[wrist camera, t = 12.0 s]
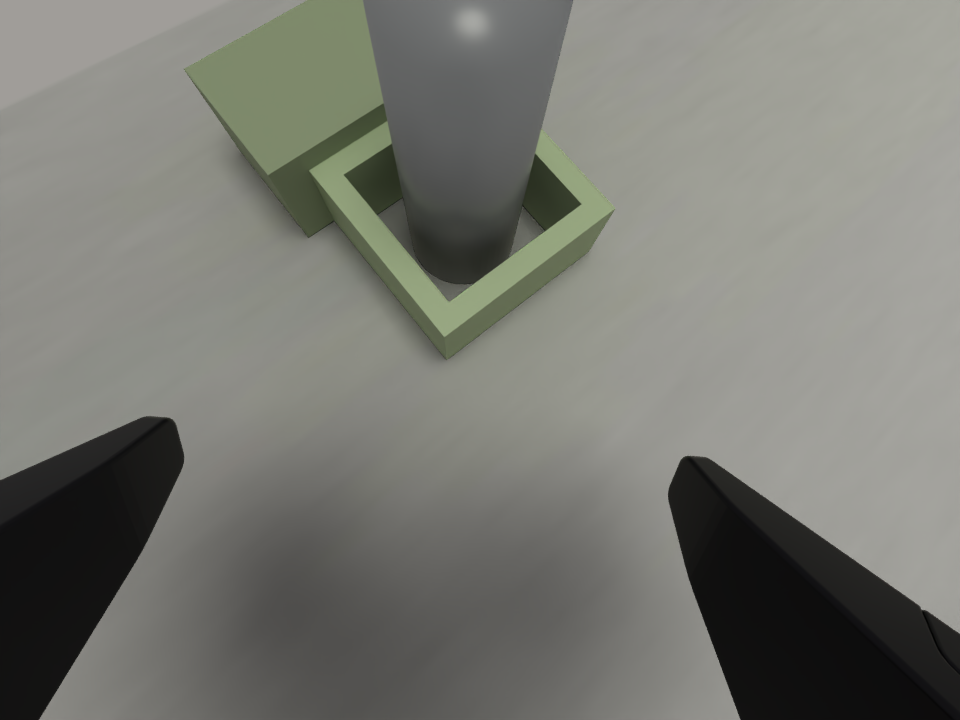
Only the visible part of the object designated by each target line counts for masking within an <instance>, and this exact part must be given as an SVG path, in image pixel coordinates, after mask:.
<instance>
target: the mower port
mask: <svg viewBox="0 0 960 720" xmlns="http://www.w3.org/2000/svg"><path fill="white" fill-rule="evenodd" d="M184 70H185V72H186V73H187V74H188V76H189V77H190V79H191V80H192V82H193V83H194V85H195V86H196V87H197V89H198V90H199V92H200V93H201V95H202V96H203V98H204V99H205V101H206V102H207V103H208V105H209V106H210V108H211V109H212V111H213V112H214V114H215V115H216V116H217V118H218V119H219V121H220V122H221V124H222V125H223V127H224V128H225V129H226V131H227V132H228V134H229V135H230V137H231V138H232V140H233V141H234V143H235V144H236V145H237V147H238V148H239V150H240V151H241V152H242V154H243V155H244V156H245V158H246V159H247V160H248V161H249V163H250V164H251V165H252V166H253V168H254V169H255V170H256V171H257V173H258V174H259V175H260V177H261V178H262V179H263V180H264V182H265V183H266V184H267V185H268V187H269V188H270V189H271V190H272V192H273V193H274V194H275V196H276V197H277V198H278V199H279V201H280V202H281V203H282V204H283V206H284V207H285V208H286V209H287V211H288V212H289V213H290V215H291V216H292V217H293V218H294V220H295V221H296V222H297V223H298V225H299V226H300V227H301V228H302V230H303V231H304V232H305V234H306V235H307V236H308V237H310V236H312V235H313V234H315V233H316V232H318V231H319V230H321V229H322V228H324V227H325V226H327V225H328V224H330V223H331V222H333V221H335V222H336V223H337V225H338V226H339V227H340V228H341V230H342V231H343V232H344V233H345V235H346V236H347V237H348V238H349V240H350V241H351V242H352V243H353V245H354V246H355V247H356V248H357V249H358V251H359V252H360V253H361V254H362V256H363V257H364V258H365V259H366V261H367V262H368V263H369V264H370V266H371V267H372V268H373V269H374V271H375V272H376V273H377V274H378V276H379V277H380V278H381V279H382V281H383V282H384V283H385V284H386V285H387V287H388V288H389V289H390V290H391V292H392V293H393V294H394V295H395V297H396V298H397V299H398V300H399V302H400V303H401V304H402V305H403V307H404V308H405V309H406V310H407V312H408V313H409V314H410V315H411V317H412V318H413V319H414V320H415V321H416V323H417V324H418V325H419V326H420V328H421V329H422V330H423V331H424V333H425V334H426V335H427V336H428V338H429V339H430V340H431V341H432V343H433V344H434V345H435V346H436V348H437V349H438V350H439V351H440V353H441V354H442V355H443V356H444V357H445V359H446V360H448V359H449V358H450V357H451V356H453V355H454V354H455V353H457V352H458V351H459V350H461V349H462V348H463V347H465V346H466V345H467V344H468V343H470V342H471V341H472V340H474V339H475V338H476V337H478V336H479V335H480V334H482V333H483V332H484V331H485V330H487V329H488V328H489V327H491V326H492V325H493V324H495V323H496V322H497V321H499V320H500V319H501V318H502V317H504V316H505V315H506V314H508V313H509V312H510V311H512V310H513V309H514V308H516V307H517V306H518V305H519V304H521V303H522V302H523V301H525V300H526V299H527V298H529V297H530V296H531V295H533V294H534V293H535V292H536V291H538V290H539V289H540V288H542V287H543V286H544V285H546V284H547V283H548V282H550V281H551V280H552V279H553V278H555V277H556V276H557V275H559V274H560V273H561V272H563V271H564V270H565V269H566V268H568V267H569V266H570V265H572V264H573V263H574V262H576V261H577V260H578V259H580V258H581V257H582V256H583V255H585V254H586V253H587V252H589V250H590V249H591V247H592V246H593V244H594V242H595V241H596V239H597V237H598V236H599V234H600V233H601V231H602V229H603V228H604V226H605V224H606V223H607V221H608V220H609V218H610V216H611V215H612V213H613V212H614V210H615V207H614V206H613V205H612V204H611V203H610V202H609V201H608V200H607V199H606V198H605V197H604V195H603V194H602V193H601V192H600V191H599V190H598V189H597V188H596V187H595V186H594V185H593V184H592V183H591V182H590V180H589V179H588V178H587V177H586V176H585V175H584V174H583V173H582V172H581V171H580V170H579V169H578V168H577V166H576V165H575V164H574V163H573V162H572V161H571V160H570V159H569V158H568V157H567V156H566V155H565V154H564V152H563V151H562V150H561V149H560V148H559V147H558V146H557V145H556V144H555V143H554V142H553V141H552V140H551V138H550V137H549V136H548V135H547V134H546V133H545V132H544V131H543V130H542V129H541V132H540V136H539V140H538V144H537V148H536V152H535V156H534V160H533V164H532V168H531V172H530V176H529V180H528V184H527V188H526V192H525V196H524V200H523V204H522V205H523V206H524V207H525V208H526V209H527V211H528V212H529V213H530V214H531V215H532V216H533V217H534V218H535V220H536V221H537V222H538V223H539V224H540V225H541V226H542V227H543V228H544V230H545V232H544V233H542V234H541V235H539V236H538V237H537V238H535V239H534V240H533V241H531V242H530V243H529V244H527V245H526V246H525V247H523V248H522V249H521V250H519V251H518V252H516V253H515V254H514V255H512V256H511V257H510V258H508V259H507V260H506V261H504V262H503V263H502V264H500V265H499V266H497V267H496V268H495V269H493V270H492V271H491V272H489V273H488V274H487V275H485V276H484V277H483V278H481V279H480V280H479V281H477V282H476V283H474V284H473V285H472V286H470V287H469V288H468V289H466V290H465V291H464V292H462V293H461V294H460V295H458V296H457V297H456V298H454V299H453V300H451V301H450V302H448V301H447V300H446V298H445V297H444V296H443V295H442V293H441V292H440V291H439V290H438V289H437V287H436V286H435V285H434V284H433V283H432V281H431V280H430V279H429V278H428V277H427V275H426V274H425V273H424V272H423V270H422V269H421V268H420V267H419V266H418V264H417V263H416V262H415V261H414V260H413V258H412V257H411V256H410V255H409V253H408V252H407V251H406V250H405V249H404V247H403V246H402V245H401V244H400V243H399V241H398V240H397V239H396V238H395V237H394V235H393V234H392V233H391V232H390V230H389V229H388V228H387V227H386V226H385V224H384V223H383V222H382V221H381V220H380V218H379V217H378V216H377V214H378V213H380V212H381V211H383V210H384V209H386V208H387V207H389V206H390V205H392V204H393V203H395V202H396V201H398V200H399V199H401V198H402V197H403V195H402V190H401V185H400V180H399V176H398V171H397V166H396V161H395V156H394V151H393V146H392V141H391V136H390V131H389V127H388V122H387V117H386V112H385V107H384V102H383V97H382V92H381V87H380V82H379V78H378V73H377V68H376V63H375V58H374V53H373V48H372V43H371V38H370V33H369V28H368V24H367V19H366V14H365V9H364V4H363V0H307V1H305V2H304V3H302V4H300V5H298V6H296V7H295V8H293V9H291V10H289V11H287V12H286V13H284V14H282V15H280V16H278V17H277V18H275V19H273V20H271V21H269V22H268V23H266V24H264V25H262V26H260V27H259V28H257V29H255V30H253V31H251V32H250V33H248V34H246V35H244V36H242V37H241V38H239V39H237V40H235V41H234V42H232V43H230V44H228V45H226V46H225V47H223V48H221V49H219V50H217V51H216V52H214V53H212V54H210V55H208V56H207V57H205V58H203V59H201V60H199V61H198V62H196V63H194V64H192V65H190V66H189V67H187V68H185V69H184Z"/></svg>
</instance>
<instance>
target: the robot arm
mask: <svg viewBox="0 0 960 720" xmlns="http://www.w3.org/2000/svg"><path fill="white" fill-rule="evenodd" d="M183 464H184V452H183V449H182V445H181V441H180V437H179V434H178V430H177V426H176V423H175V422H174V421H173V420H172V419H170V418H167V417H154V416H146V417H142V418H140V419H137V420H135V421H133V422H131V423H128V424H126V425H124V426H122V427H119V428H117V429H115V430H113V431H110V432H108V433H106V434H104V435H101V436H99V437H97V438H95V439H92V440H90V441H88V442H86V443H83V444H81V445H79V446H77V447H74V448H72V449H70V450H68V451H65V452H63V453H61V454H59V455H56V456H54V457H52V458H49V459H47V460H45V461H43V462H40V463H38V464H36V465H34V466H31V467H29V468H27V469H25V470H22V471H20V472H18V473H16V474H13V475H11V476H9V477H7V478H4V479H2V480H0V720H39V719H40V717H41V716H42V714H43V712H44V711H45V709H46V707H47V706H48V704H49V702H50V701H51V699H52V698H53V696H54V694H55V693H56V691H57V689H58V688H59V686H60V685H61V683H62V681H63V680H64V678H65V676H66V675H67V673H68V672H69V670H70V668H71V667H72V665H73V663H74V662H75V660H76V658H77V657H78V655H79V654H80V652H81V650H82V649H83V647H84V645H85V644H86V642H87V641H88V639H89V637H90V636H91V634H92V632H93V631H94V629H95V628H96V626H97V624H98V623H99V621H100V619H101V618H102V616H103V614H104V613H105V611H106V610H107V608H108V606H109V605H110V603H111V601H112V600H113V598H114V597H115V595H116V593H117V592H118V590H119V588H120V587H121V585H122V584H123V582H124V580H125V579H126V577H127V575H128V574H129V572H130V570H131V569H132V567H133V566H134V564H135V562H136V561H137V559H138V557H139V555H140V554H141V552H142V550H143V548H144V546H145V544H146V543H147V541H148V539H149V537H150V535H151V533H152V531H153V528H154V526H155V524H156V522H157V520H158V518H159V516H160V514H161V512H162V510H163V508H164V505H165V503H166V501H167V499H168V497H169V495H170V493H171V491H172V489H173V487H174V485H175V482H176V480H177V478H178V476H179V474H180V472H181V470H182V467H183ZM668 500H669V505H670V508H671V512H672V516H673V520H674V524H675V528H676V532H677V536H678V540H679V544H680V548H681V551H682V555H683V559H684V563H685V567H686V570H687V574H688V577H689V581H690V583H691V586H692V589H693V592H694V595H695V598H696V600H697V603H698V606H699V609H700V611H701V614H702V617H703V619H704V622H705V625H706V627H707V630H708V633H709V636H710V638H711V641H712V644H713V646H714V649H715V652H716V655H717V657H718V660H719V663H720V665H721V668H722V671H723V673H724V676H725V679H726V682H727V684H728V687H729V690H730V692H731V695H732V698H733V701H734V703H735V706H736V709H737V711H738V714H739V717H740V719H741V720H960V634H959V633H958V632H956V631H955V630H953V629H952V628H951V627H949V626H948V625H946V624H945V623H943V622H942V621H941V620H939V619H938V618H936V617H935V616H934V615H932V614H931V613H929V612H928V611H926V610H921V608H920V606H919V605H918V604H916V603H915V602H913V601H912V600H910V599H909V598H908V597H906V596H905V595H903V594H902V593H900V592H899V591H898V590H896V589H895V588H893V587H892V586H890V585H889V584H888V583H886V582H885V581H883V580H882V579H880V578H879V577H878V576H876V575H875V574H873V573H872V572H870V571H869V570H868V569H866V568H865V567H863V566H862V565H860V564H859V563H858V562H856V561H855V560H853V559H852V558H850V557H849V556H848V555H846V554H845V553H843V552H842V551H840V550H839V549H838V548H836V547H835V546H833V545H832V544H830V543H829V542H828V541H826V540H825V539H823V538H822V537H820V536H819V535H818V534H816V533H815V532H813V531H812V530H810V529H809V528H808V527H806V526H805V525H803V524H802V523H800V522H799V521H798V520H796V519H795V518H793V517H792V516H790V515H789V514H788V513H786V512H785V511H783V510H782V509H780V508H779V507H778V506H776V505H775V504H773V503H772V502H770V501H769V500H768V499H766V498H765V497H763V496H762V495H760V494H759V493H758V492H756V491H755V490H753V489H752V488H750V487H749V486H748V485H746V484H745V483H743V482H742V481H740V480H739V479H738V478H736V477H735V476H733V475H732V474H730V473H729V472H728V471H726V470H725V469H723V468H722V467H720V466H719V465H718V464H716V463H715V462H713V461H712V460H710V459H709V458H706V457H698V456H685V457H683V458H682V459H681V461H680V463H679V465H678V468H677V470H676V472H675V475H674V477H673V479H672V482H671V484H670V487H669V491H668Z"/></svg>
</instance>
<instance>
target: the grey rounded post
mask: <svg viewBox="0 0 960 720" xmlns="http://www.w3.org/2000/svg"><path fill="white" fill-rule="evenodd" d="M572 3H573V0H363V4H364V9H365V14H366V19H367V24H368V28H369V33H370V38H371V43H372V48H373V53H374V58H375V63H376V68H377V73H378V78H379V82H380V87H381V92H382V97H383V102H384V107H385V112H386V117H387V122H388V127H389V131H390V136H391V141H392V146H393V151H394V156H395V161H396V166H397V171H398V176H399V180H400V185H401V190H402V195H403V200H404V205H405V210H406V215H407V220H408V225H409V230H410V234H411V239H412V244H413V248H414V252H415V254H416V256H417V258H418V260H419V262H420V263H421V264H422V265H423V267H424V268H425V269H426V270H427V271H428V272H430V273H431V274H432V275H434V276H435V277H437V278H439V279H441V280H444V281H447V282H450V283H456V284H471V283H476V282H477V281H479V280H480V279H481V278H483V277H484V276H485V275H487V274H488V273H489V272H491V271H492V270H493V269H495V268H496V267H497V266H499V265H500V264H502V263H503V262H504V261H506V260H507V259H508V257H509V254H510V252H511V248H512V244H513V240H514V236H515V232H516V228H517V224H518V220H519V216H520V212H521V208H522V204H523V200H524V196H525V192H526V188H527V184H528V180H529V176H530V172H531V168H532V164H533V160H534V156H535V152H536V148H537V144H538V140H539V136H540V132H541V128H542V124H543V120H544V116H545V112H546V108H547V104H548V100H549V96H550V92H551V88H552V84H553V80H554V76H555V72H556V68H557V64H558V60H559V56H560V52H561V48H562V44H563V40H564V36H565V32H566V28H567V24H568V20H569V15H570V11H571V7H572Z"/></svg>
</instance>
